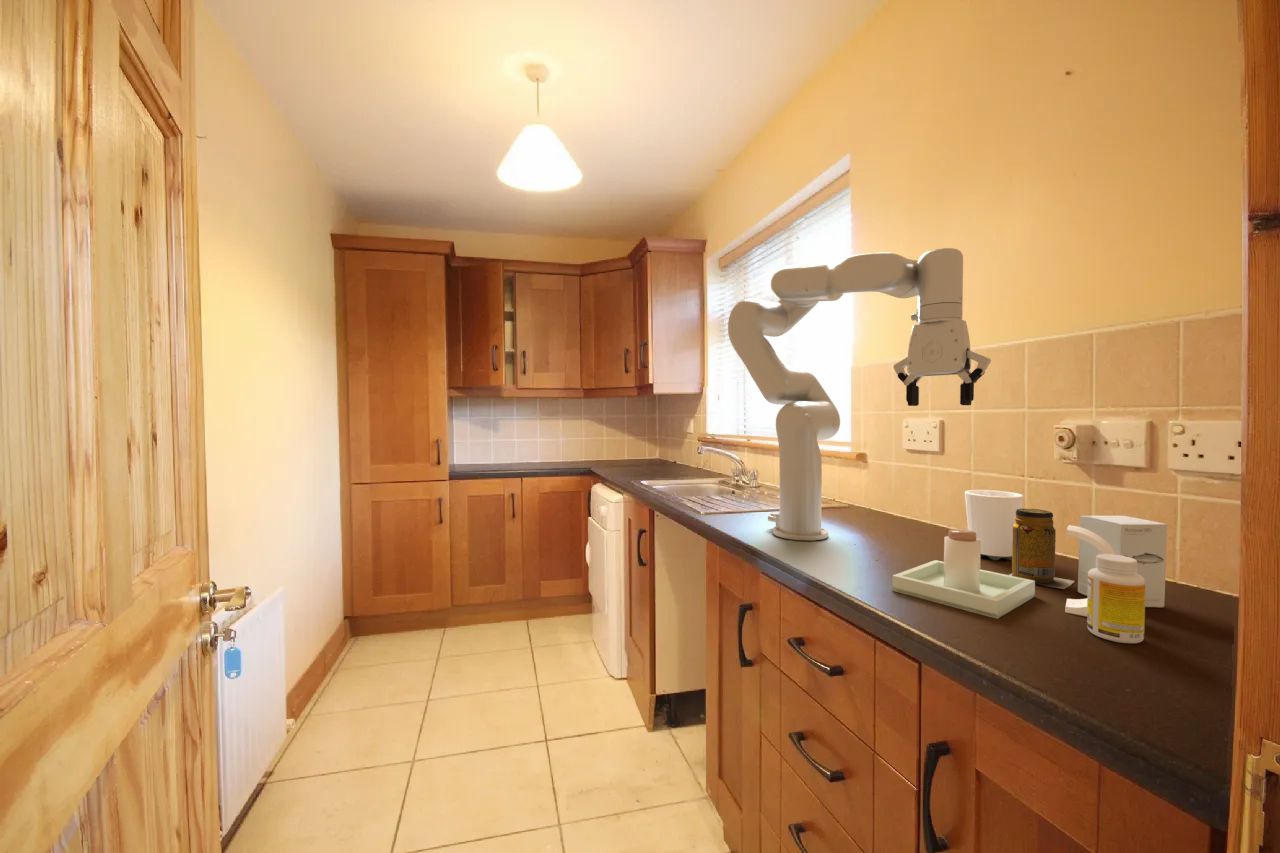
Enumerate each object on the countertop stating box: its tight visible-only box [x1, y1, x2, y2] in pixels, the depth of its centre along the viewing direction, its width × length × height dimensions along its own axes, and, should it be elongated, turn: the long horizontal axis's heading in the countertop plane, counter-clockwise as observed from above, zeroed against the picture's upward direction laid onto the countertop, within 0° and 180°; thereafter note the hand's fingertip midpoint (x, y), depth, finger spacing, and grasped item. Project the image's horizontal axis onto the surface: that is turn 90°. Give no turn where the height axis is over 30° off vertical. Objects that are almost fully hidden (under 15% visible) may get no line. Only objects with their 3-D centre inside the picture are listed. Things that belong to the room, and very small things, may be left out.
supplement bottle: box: [1086, 554, 1146, 644], centre depth 69 cm, size 6×6×10 cm
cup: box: [964, 489, 1024, 561], centre depth 108 cm, size 10×10×13 cm
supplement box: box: [1077, 515, 1168, 608], centre depth 83 cm, size 7×7×13 cm
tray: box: [891, 559, 1036, 620], centre depth 86 cm, size 15×15×2 cm
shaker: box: [943, 528, 982, 594], centre depth 86 cm, size 5×5×9 cm
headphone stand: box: [1064, 524, 1117, 617], centre depth 77 cm, size 5×6×12 cm
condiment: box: [1008, 508, 1075, 590], centre depth 93 cm, size 7×8×12 cm
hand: (938, 405), depth 103 cm, fingers open, 9 cm apart
